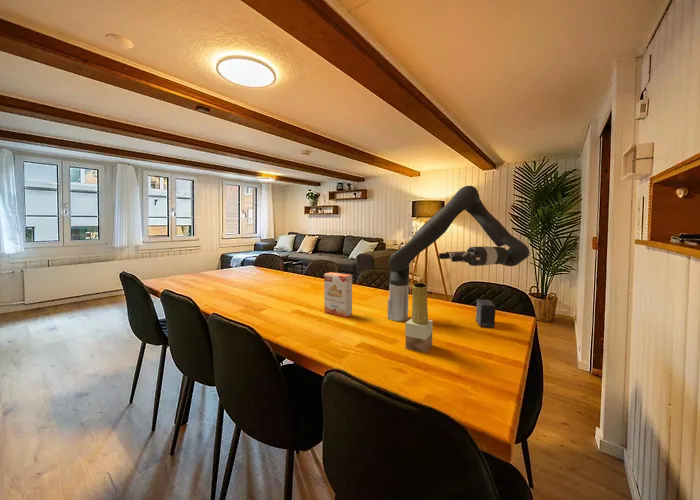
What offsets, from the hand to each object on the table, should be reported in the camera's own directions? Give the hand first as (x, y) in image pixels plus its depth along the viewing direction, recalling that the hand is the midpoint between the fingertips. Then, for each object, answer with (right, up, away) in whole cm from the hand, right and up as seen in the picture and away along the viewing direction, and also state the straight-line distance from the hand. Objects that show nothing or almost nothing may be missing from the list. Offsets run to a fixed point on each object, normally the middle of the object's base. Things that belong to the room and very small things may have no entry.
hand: (445, 257), depth 116 cm
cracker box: (-42, -30, +42) cm, 67 cm away
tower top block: (-10, -29, 0) cm, 31 cm away
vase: (-10, -24, 0) cm, 26 cm away
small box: (+27, -32, +26) cm, 49 cm away
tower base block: (-10, -34, +1) cm, 36 cm away
